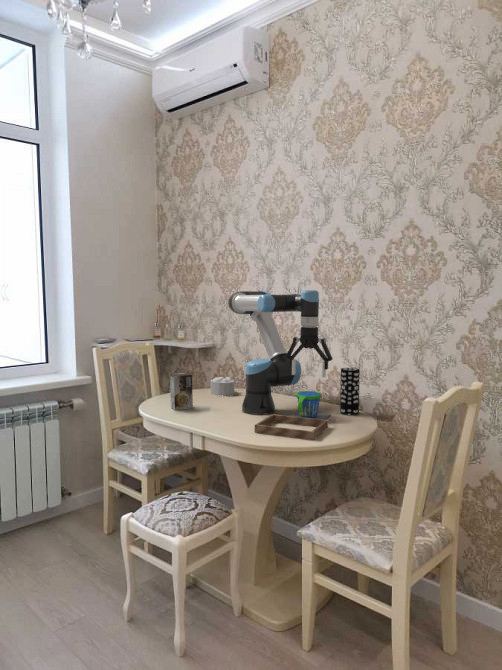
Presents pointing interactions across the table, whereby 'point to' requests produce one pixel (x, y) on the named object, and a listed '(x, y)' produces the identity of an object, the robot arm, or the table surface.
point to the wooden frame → (287, 432)
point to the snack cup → (308, 403)
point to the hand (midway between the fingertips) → (308, 375)
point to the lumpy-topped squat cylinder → (222, 386)
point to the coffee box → (181, 391)
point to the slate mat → (319, 416)
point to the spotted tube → (349, 391)
